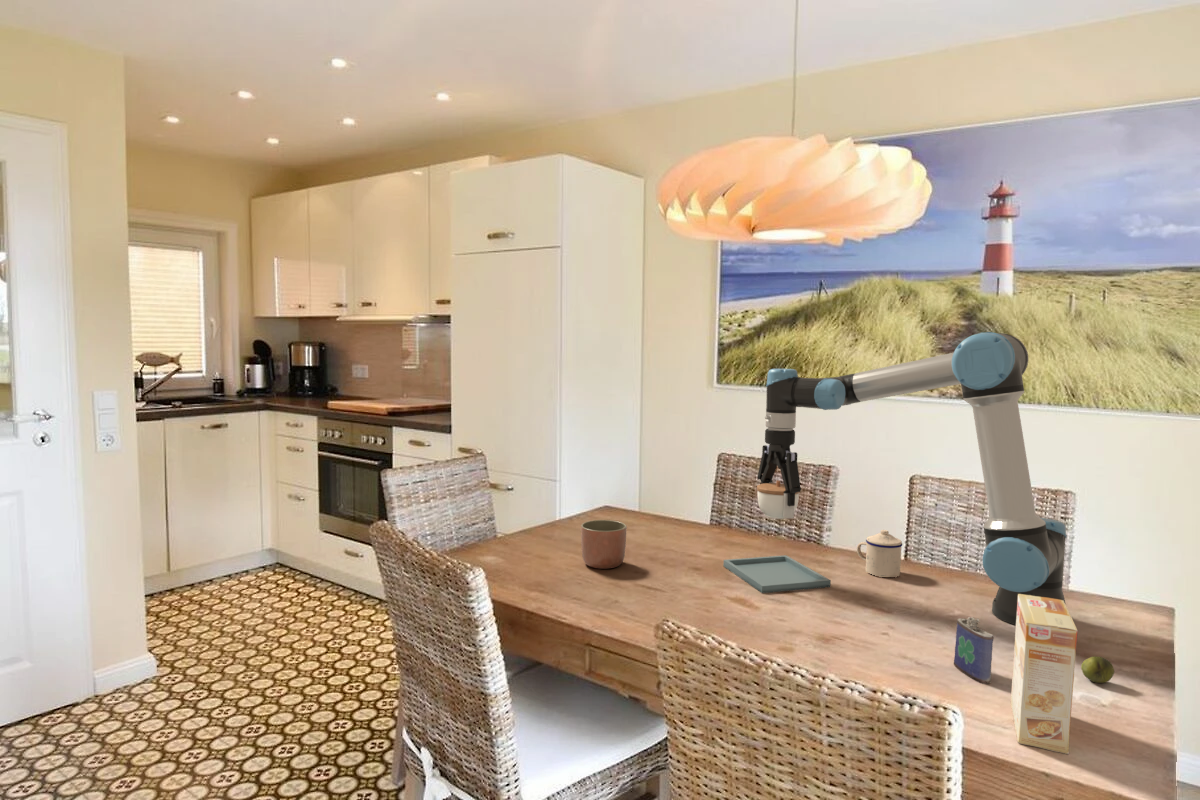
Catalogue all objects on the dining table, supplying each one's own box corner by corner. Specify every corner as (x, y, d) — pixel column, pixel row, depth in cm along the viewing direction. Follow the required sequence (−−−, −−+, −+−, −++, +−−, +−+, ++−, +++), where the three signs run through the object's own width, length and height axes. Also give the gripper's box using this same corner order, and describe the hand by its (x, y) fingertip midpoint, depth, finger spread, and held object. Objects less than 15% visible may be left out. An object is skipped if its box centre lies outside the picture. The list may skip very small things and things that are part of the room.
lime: (1076, 678, 139) (1078, 652, 139) (1097, 676, 140) (1099, 650, 140) (1097, 689, 135) (1099, 662, 134) (1119, 687, 136) (1121, 660, 135)
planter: (612, 574, 196) (612, 533, 195) (571, 566, 202) (572, 527, 201) (633, 562, 206) (634, 523, 205) (595, 555, 212) (595, 517, 212)
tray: (830, 587, 188) (830, 580, 188) (762, 593, 183) (762, 586, 183) (785, 561, 209) (786, 555, 209) (723, 566, 204) (723, 559, 204)
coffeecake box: (1070, 755, 113) (1079, 630, 111) (1016, 744, 116) (1024, 622, 114) (1057, 711, 127) (1065, 598, 125) (1009, 702, 130) (1016, 592, 128)
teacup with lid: (906, 573, 200) (909, 531, 199) (891, 581, 193) (893, 536, 192) (864, 563, 208) (866, 522, 207) (848, 570, 202) (850, 527, 201)
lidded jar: (782, 510, 201) (783, 475, 201) (807, 519, 191) (808, 483, 191) (748, 513, 198) (749, 478, 197) (771, 522, 188) (772, 485, 187)
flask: (993, 684, 136) (997, 626, 135) (979, 684, 136) (982, 627, 135) (962, 662, 145) (965, 608, 144) (948, 663, 145) (951, 609, 144)
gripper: (746, 423, 203) (743, 503, 205) (790, 434, 181) (787, 524, 182) (771, 423, 205) (768, 502, 207) (817, 434, 183) (814, 522, 184)
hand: (777, 512), depth 195 cm, fingers closed on lidded jar, 11 cm apart
